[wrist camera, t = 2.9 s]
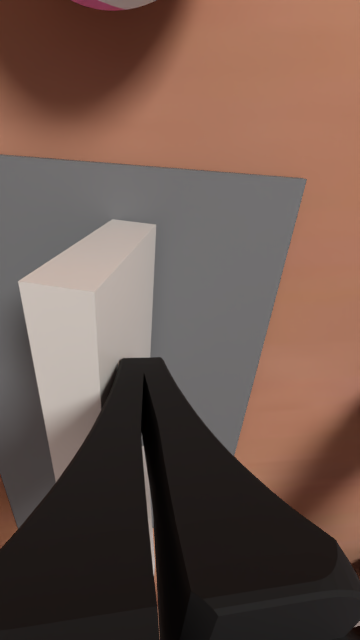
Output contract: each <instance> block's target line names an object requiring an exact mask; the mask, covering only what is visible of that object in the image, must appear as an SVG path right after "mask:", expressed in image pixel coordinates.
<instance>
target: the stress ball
mask: <svg viewBox="0 0 360 640" xmlns="http://www.w3.org/2000/svg"><path fill="white" fill-rule="evenodd" d="M71 1H73V2H75V3H78V4H80V5H83V6H86V7H90V8H94V9H99V10H111V11H117V10H128V9H132V8H137V7H141V6H144V5H147V4H149V3H152V2H154V1H156V0H71Z"/></svg>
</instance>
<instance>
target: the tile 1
mask: <svg viewBox="0 0 360 640" xmlns="http://www.w3.org/2000/svg"><path fill="white" fill-rule="evenodd" d="M155 242H156V224H148V223H140V222H131V221H123V220H115V219H112V220H111V221H109V222H107V223H106V224H104V225H103V226H101V227H100V228H98V229H97V230H95V231H94V232H92V233H91V234H89V235H88V236H86V237H85V238H83V239H82V240H80V241H79V242H77V243H76V244H74V245H72V246H71V247H69V248H68V249H66V250H65V251H63V252H62V253H60V254H59V255H57V256H56V257H54V258H53V259H51V260H50V261H48V262H47V263H45V264H44V265H42V266H40V267H39V268H37V269H36V270H34V271H33V272H31V273H30V274H28V275H27V276H25V277H24V278H22V279H21V280H19V281H18V284H19V289H20V294H21V300H22V305H23V310H24V316H25V321H26V326H27V332H28V337H29V342H30V348H31V353H32V358H33V364H34V369H35V374H36V379H37V385H38V390H39V395H40V401H41V406H42V411H43V417H44V422H45V427H46V433H47V438H48V443H49V449H50V454H51V459H52V465H53V470H54V475H55V481H56V482H57V480H58V479H59V477H60V476H61V475H62V473H63V472H64V470H65V469H66V467H67V466H68V465H69V463H70V462H71V460H72V459H73V457H74V456H75V454H76V453H77V451H78V450H79V448H80V447H81V445H82V444H83V442H84V440H85V439H86V437H87V435H88V434H89V432H90V430H91V428H92V427H93V425H94V423H95V421H96V419H97V417H98V415H99V413H100V412H101V410H102V408H103V406H104V404H105V401H106V399H107V397H108V395H109V392H110V390H111V388H112V385H113V383H114V380H115V377H116V374H117V371H118V367H119V361H120V360H121V359H122V358H148V357H150V352H151V330H152V308H153V286H154V264H155Z"/></svg>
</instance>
